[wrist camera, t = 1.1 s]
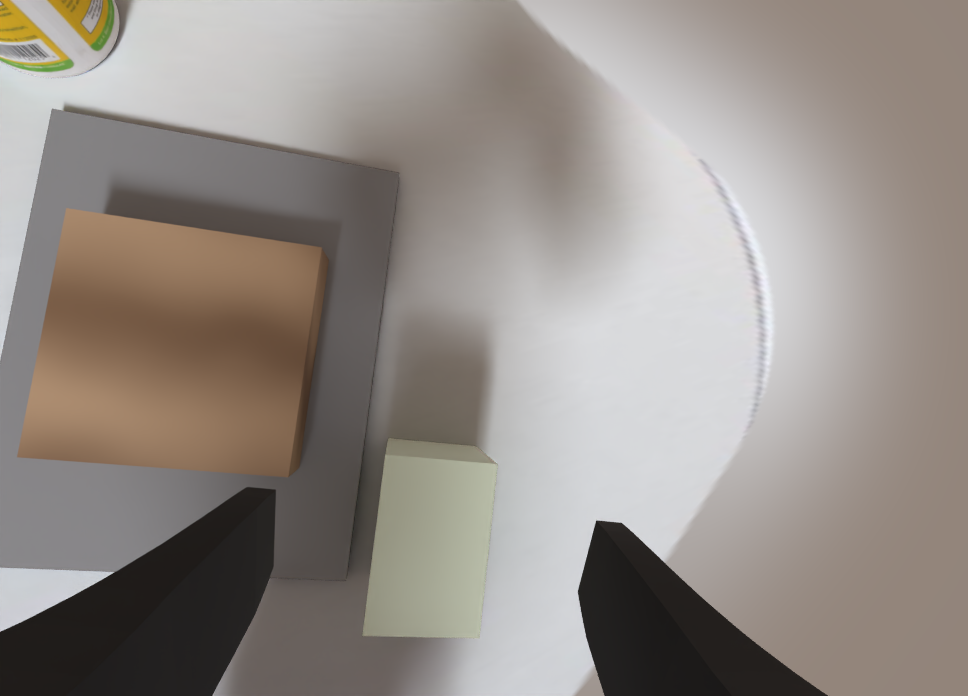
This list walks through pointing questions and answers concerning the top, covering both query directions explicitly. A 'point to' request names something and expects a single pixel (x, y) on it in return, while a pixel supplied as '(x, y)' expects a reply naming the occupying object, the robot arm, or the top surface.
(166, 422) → the walnut base brick
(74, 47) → the supplement bottle
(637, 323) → the top surface
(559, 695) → the top surface
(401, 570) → the sage brick
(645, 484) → the top surface
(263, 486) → the grey mat
